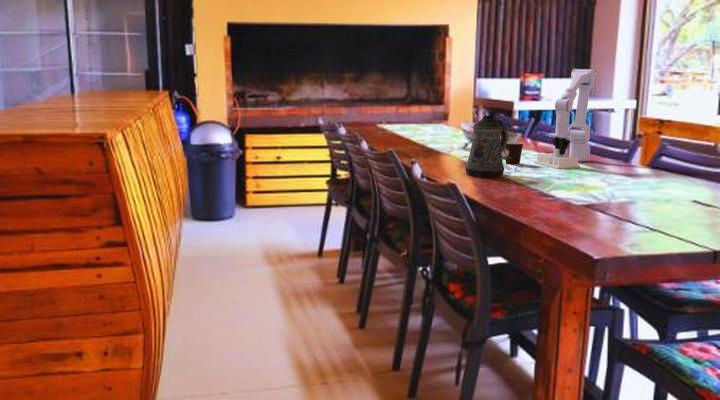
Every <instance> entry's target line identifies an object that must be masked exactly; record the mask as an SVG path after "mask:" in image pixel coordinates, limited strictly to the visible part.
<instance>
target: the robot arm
mask: <svg viewBox="0 0 720 400" xmlns="http://www.w3.org/2000/svg"><path fill="white" fill-rule="evenodd" d="M570 75H571V76H570V78H571V82H570V85H569V87H567V88H565V90H564V91H563V94H562V95H561V96H560V98H558V99H557V100H556V101H555V104H554V110H555V115H556V117H555V118H556V120H555V132H549V134H548V135H549V136H548V137H549V138H552V139H551V140H552V143H553V145H554V149H560V155H564V154H565V151H566V148H567V147H568V146H569V150H568V151H569V153H568V156H573V157H578V163H579V162H587V161H588V162H590V161H591V159H590V157H591V145H590V143H589V141H590V139H591V127H590V125H589V124H587V123H586V121H587V120H586V119H587V114H588V113H587V112H588V105H589V97H590V91H591V89H592V88H594V85H595V82H596V81H595V79H596V71H595V70H594V69H593V68H591V69H590V68H588V69H585V68H584V69H583V68H582V69H581V68H580V69H579V68H573V69H572V71H571V74H570ZM577 91H578V92H577ZM577 95H578V97H577ZM576 97H577V105H576V110H575V117H574V121H573V122H572V123H571V124H570V114H571V113H570V112H572V110H573V105H574V101H575V99H576ZM567 149H568V148H567Z"/></svg>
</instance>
